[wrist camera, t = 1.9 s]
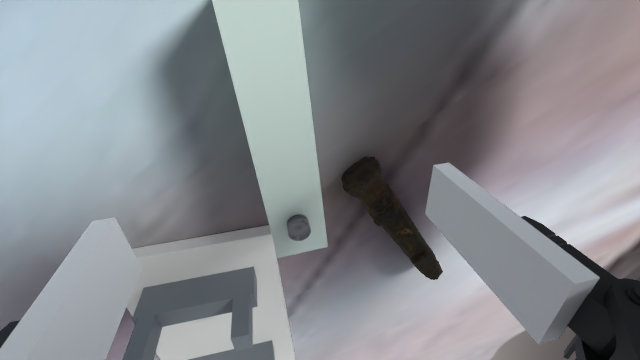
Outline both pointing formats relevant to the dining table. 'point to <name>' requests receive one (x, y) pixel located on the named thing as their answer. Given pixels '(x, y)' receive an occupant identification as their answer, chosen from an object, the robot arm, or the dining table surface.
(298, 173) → the tapered bar with knob
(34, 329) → the robot arm
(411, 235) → the hand tool
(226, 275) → the clip rack
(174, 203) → the dining table surface
